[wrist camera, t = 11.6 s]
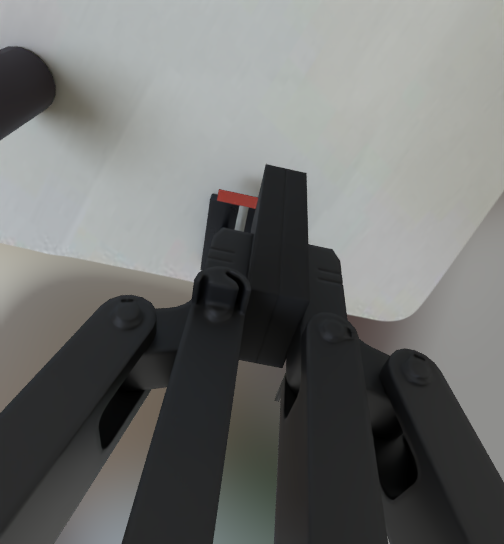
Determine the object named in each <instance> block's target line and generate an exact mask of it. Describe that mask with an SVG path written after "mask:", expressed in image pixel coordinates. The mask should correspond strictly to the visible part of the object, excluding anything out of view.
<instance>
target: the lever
mask: <svg viewBox="0 0 504 544" xmlns="http://www.w3.org/2000/svg"><path fill="white" fill-rule="evenodd" d="M217 201H221V202H225V203H230V204H235V205H239V211H238V215H237V220H236V225H235V230H238V231H243V232H244V228H245V223H246V218H247V213H248V208H253V209H256V205H257V201H258V198H257V197H253V196H248V195H244V194H239V193H234V192H230V191H225V190H221V189H219V192H218V197H217Z"/></svg>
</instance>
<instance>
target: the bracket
mask: <svg viewBox="0 0 504 544" xmlns="http://www.w3.org/2000/svg"><path fill="white" fill-rule="evenodd" d="M217 197H218V195H215V194H212V195H211V198H210V204H209V212H208V219H207V226H206V233H205V241H204V248H203V255H202V262H201V270H204V267H205V263H206V260H207V257H208V253H209V249H210V246H211V242H212V239H213V236H214V235H215V234H216V233H217V232H218V231H219V230H220V229H221V228H223V227H224V228H228V229H233V230H235V225H236V220H237V215H238V211H239V205H235V204H230V203H225V202H221V201H217ZM255 210H256V209H253V208H248V213H247V218H246V223H245V228H244V232H247V233H251V227H252V223H253V218H254V214H255Z"/></svg>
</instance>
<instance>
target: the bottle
mask: <svg viewBox="0 0 504 544" xmlns="http://www.w3.org/2000/svg"><path fill="white" fill-rule="evenodd" d="M54 97H55V83H54V80H53V76H52V75H51V73H50V71H49V69H48V67H47V66H46V65H45V64H44V63H43V62H42V60H41V59H40V58H39V57H37V56H36V55H35V54H33V53H32V52H30V51H28V50H26V49H23V48H21V47H6V48H4V49H1V50H0V140H1V139H3V138H4V137H6V136H7V135H9V134H10V133H12V132H13V131H15V130H16V129H18V128H19V127H21V126H22V125H24V124H25V123H26V122H28V121H29V120H31V119H32V118H34V117H35V116H37V115H38V114H40V113H41V112H43V111H44V110H46V109H47V108H48V107H49V106H50V105H51V104H52V102H53V100H54Z"/></svg>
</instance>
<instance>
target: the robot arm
mask: <svg viewBox="0 0 504 544" xmlns="http://www.w3.org/2000/svg"><path fill="white" fill-rule="evenodd" d="M341 273H342V272H341V264H340V260H339V259H338V257H337V256H336V254H335V252H334V251H333V249H328V248H323V247H319V246H314V245H309V244H308V215H307V177H306V173H303V172H299V171H294V170H290V169H285V168H281V167H276V166H272V165H267V164H266V166H265V170H264V175H263V179H262V183H261V188H260V192H259V197H258V201H257V205H256V210H255V214H254V218H253V223H252V227H251V233H247V232H243V231H238V230H233V229H228V228H224V227H223V228H221V229H220V230H219V231H218V232H217V233H216V234H215V235H214V236H213V239H212V242H211V246H210V249H209V253H208V257H207V260H206V263H205V267H204V270H202V271H201V272H199V273H198V275H197V276H196V278H195V279H194V286H193V294H192V299H191V300H190V301H189V302H187V303H186V304H183V305H180V306H178V307H172V308H161V309H160V308H159V309H155V308H154V306H153V305H152V303H151V302H149V301H147V300H146V299H144V298H143V297H138V296H134V295H121V296H118V297H115V298H112V299H109V300H108V301H107V302H105V303H104V304H103V305H101V306H100V307H99V308H98V309H97V310H96V311H95V313H94V314H93V315H92V316H91V317H90V318H89V319H88V320H87V321H86V322H85V323H84V324H83V325H82V326H81V327H80V329H79V330H78V331H77V332H76V333H75V334H74V335H73V336H72V337H71V338H70V339H69V340H68V341H67V342H66V343H65V345H64V346H63V347H62V348H61V349H60V350H59V351H58V352H57V353H56V354H55V355H54V356H53V357H52V358H51V360H50V361H49V362H48V363H47V364H46V365H45V366H44V367H43V368H42V369H41V370H40V371H39V372H38V373H37V374H36V375H35V377H34V378H33V379H32V380H31V381H30V382H29V383H28V384H27V385H26V386H25V387H24V388H23V389H22V391H20V393H19V394H18V395H17V396H16V397H15V398H14V399H13V400H12V401H11V402H10V403H9V404H8V405H7V406H6V407H5V409H4V410H3V411H2V412H1V413H0V544H54V543H55V541H56V540H57V538H58V537H59V535H60V533H61V532H62V530H63V529H64V527H65V525H66V524H67V522H68V521H69V519H70V518H71V516H72V514H73V513H74V511H75V510H76V508H77V507H78V505H79V503H80V502H81V500H82V499H83V497H84V495H85V494H86V492H87V491H88V489H89V488H90V486H91V484H92V483H93V481H94V480H95V478H96V477H97V475H98V473H99V472H100V470H101V469H102V467H103V465H104V464H105V462H106V461H107V459H108V458H109V456H110V454H111V453H112V451H113V450H114V448H115V446H116V445H117V443H118V442H119V440H120V439H121V437H122V435H123V434H124V432H125V431H126V429H127V428H128V426H129V424H130V423H131V421H132V419H133V418H134V416H135V415H136V413H137V412H138V410H139V408H140V407H141V405H142V404H143V402H144V401H145V399H146V398H147V396H148V394H149V393H150V391H151V389H156V388H164V387H167V389H166V393H165V396H164V399H163V403H162V406H161V410H160V414H159V417H158V420H157V424H156V427H155V430H154V434H153V437H152V441H151V445H150V448H149V451H148V455H147V458H146V462H145V465H144V468H143V472H142V475H141V479H140V482H139V486H138V489H137V492H136V496H135V499H134V503H133V506H132V510H131V513H130V517H129V520H128V524H127V527H126V530H125V534H124V537H123V541H122V544H213V538H214V530H215V523H216V516H217V510H218V502H219V495H220V488H221V481H222V474H223V466H224V460H225V452H226V445H227V439H228V431H229V424H230V417H231V410H232V403H233V396H234V389H235V381H236V374H237V367H238V361H239V360H243V361H248V362H254V363H259V364H263V365H268V366H274V367H279V368H283V365H284V362H285V360H286V373H285V376H284V378H283V380H282V383H281V385H280V387H279V390H278V392H277V394H276V398H275V401H279V400H280V397H281V401H280V424H279V445H278V468H277V489H276V490H277V491H276V512H275V534H274V544H388V539H389V542H390V544H504V482H503V480H502V478H501V477H500V475H499V473H498V471H497V470H496V468H495V466H494V464H493V463H492V461H491V459H490V457H489V455H488V454H487V452H486V450H485V448H484V447H483V445H482V443H481V441H480V440H479V438H478V436H477V434H476V432H475V431H474V429H473V427H472V426H471V424H470V422H469V420H468V418H467V417H466V415H465V413H464V411H463V410H462V408H461V406H460V404H459V402H458V401H457V399H456V397H455V395H454V394H453V392H452V390H451V388H450V387H449V385H448V383H447V381H446V380H445V378H444V376H443V374H442V372H441V371H440V370H439V368H438V367H437V366H436V364H435V363H434V362H433V361H431V360H430V359H429V358H428V357H427V356H425V355H424V354H422V353H419V352H417V351H415V350H410V349H400V350H396V351H395V352H394V353H393V354H392V355H391V356H389V355H387V354H385V353H383V352H381V351H379V350H376V349H375V348H372V347H371V346H369V345H367V344H365V343H364V342H363V341H361V340H360V339H359V337H358V334H357V331H356V329H355V328H354V327H353V326H352V325H351V323H350V322H349V321H348V320H347V313H346V305H345V297H344V289H343V285H342V283H343V280H342V275H341ZM387 536H388V539H387Z"/></svg>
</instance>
